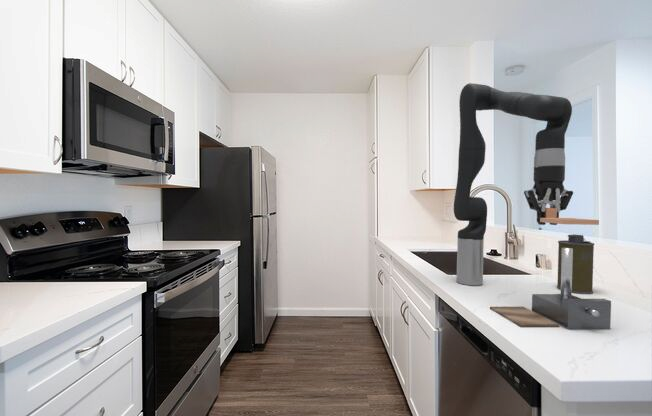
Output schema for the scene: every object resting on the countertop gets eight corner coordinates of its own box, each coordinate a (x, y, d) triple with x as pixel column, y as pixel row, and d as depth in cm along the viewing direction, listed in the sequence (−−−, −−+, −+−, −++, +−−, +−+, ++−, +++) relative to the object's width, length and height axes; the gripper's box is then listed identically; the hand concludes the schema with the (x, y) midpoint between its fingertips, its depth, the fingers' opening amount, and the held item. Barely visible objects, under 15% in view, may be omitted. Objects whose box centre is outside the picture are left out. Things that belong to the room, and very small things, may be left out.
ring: (529, 221, 96) (529, 207, 96) (558, 221, 96) (558, 207, 96) (565, 224, 83) (565, 208, 82) (598, 224, 83) (599, 209, 83)
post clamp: (531, 311, 93) (533, 245, 93) (568, 311, 93) (570, 245, 93) (574, 332, 78) (576, 254, 78) (617, 332, 79) (620, 254, 78)
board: (489, 308, 95) (489, 306, 95) (522, 308, 95) (522, 306, 95) (520, 327, 81) (520, 324, 81) (559, 326, 81) (559, 324, 81)
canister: (578, 295, 111) (579, 236, 110) (549, 287, 121) (551, 233, 120) (601, 293, 113) (603, 236, 113) (571, 285, 123) (573, 233, 123)
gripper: (562, 167, 98) (560, 224, 99) (517, 166, 98) (516, 223, 98) (583, 164, 91) (581, 225, 91) (534, 163, 90) (533, 225, 91)
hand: (547, 224), depth 95 cm, fingers closed on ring, 3 cm apart
